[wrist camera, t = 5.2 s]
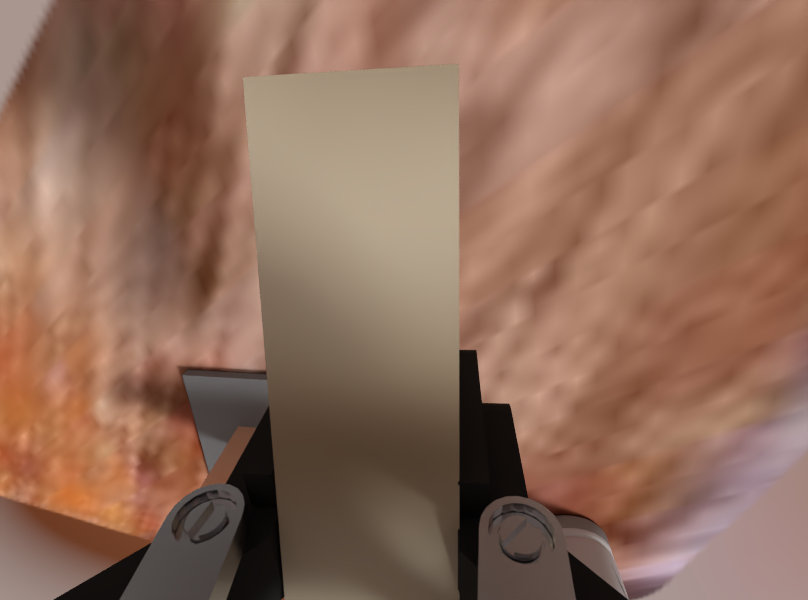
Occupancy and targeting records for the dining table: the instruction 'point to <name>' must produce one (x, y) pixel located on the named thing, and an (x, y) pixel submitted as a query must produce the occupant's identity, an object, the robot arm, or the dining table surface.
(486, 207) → the dining table surface
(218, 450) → the grey square plate
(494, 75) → the dining table surface
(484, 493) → the robot arm
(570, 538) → the travel mug
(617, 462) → the dining table surface
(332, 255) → the beige rectangular bar
